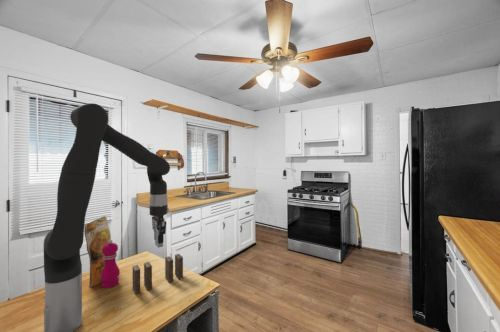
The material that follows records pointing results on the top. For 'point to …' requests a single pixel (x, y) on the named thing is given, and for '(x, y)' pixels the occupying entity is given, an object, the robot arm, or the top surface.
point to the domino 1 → (136, 279)
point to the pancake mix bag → (96, 247)
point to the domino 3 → (157, 239)
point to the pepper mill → (110, 265)
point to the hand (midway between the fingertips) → (158, 241)
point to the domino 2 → (148, 276)
